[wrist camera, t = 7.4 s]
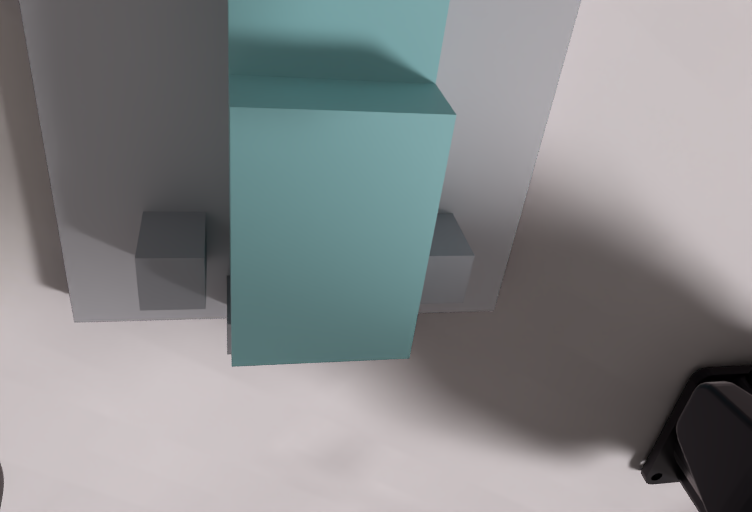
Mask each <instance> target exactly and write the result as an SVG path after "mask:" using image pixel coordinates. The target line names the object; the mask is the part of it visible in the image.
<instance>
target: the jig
mask: <svg viewBox="0 0 752 512" xmlns="http://www.w3.org/2000/svg"><path fill="white" fill-rule="evenodd" d="M580 3H581V0H450V2H449V8H448V14H447V20H446V26H445V32H444V38H443V43H442V49H441V55H440V61H439V67H438V73H437V79H436V85H437V87H438V88H439V90H440V91H441V93H442V94H443V96H444V97H445V98H446V100H447V101H448V103H449V104H450V106H451V107H452V109H453V110H454V112H455V113H456V120H455V126H454V131H453V136H452V141H451V146H450V151H449V156H448V162H447V167H446V172H445V177H444V182H443V187H442V193H441V198H440V203H439V208H438V213H437V218H436V223H435V229H434V234H433V239H432V244H431V249H430V254H429V260H428V265H427V270H426V275H425V280H424V285H423V290H422V296H421V301H420V306H419V311H418V313H443V312H479V311H494V309H495V305H496V302H497V298H498V295H499V291H500V288H501V284H502V280H503V277H504V273H505V270H506V266H507V263H508V259H509V256H510V252H511V248H512V245H513V241H514V238H515V234H516V231H517V227H518V223H519V220H520V216H521V213H522V209H523V206H524V202H525V199H526V195H527V191H528V188H529V184H530V181H531V177H532V174H533V170H534V167H535V163H536V159H537V156H538V152H539V149H540V145H541V142H542V138H543V135H544V131H545V127H546V124H547V120H548V117H549V113H550V110H551V106H552V102H553V99H554V95H555V92H556V88H557V85H558V81H559V78H560V74H561V70H562V67H563V63H564V60H565V56H566V53H567V49H568V46H569V42H570V38H571V35H572V31H573V28H574V24H575V21H576V17H577V14H578V10H579V6H580ZM19 4H20V10H21V16H22V22H23V27H24V33H25V39H26V45H27V51H28V56H29V62H30V68H31V74H32V80H33V85H34V91H35V97H36V103H37V109H38V115H39V120H40V126H41V132H42V138H43V144H44V149H45V155H46V161H47V167H48V173H49V178H50V184H51V190H52V196H53V202H54V207H55V213H56V219H57V225H58V231H59V236H60V242H61V248H62V254H63V260H64V265H65V271H66V277H67V283H68V289H69V294H70V300H71V306H72V312H73V318H74V322H110V321H147V320H184V319H221V318H227V354H232V351H231V295H230V219H229V103H228V0H19Z"/></svg>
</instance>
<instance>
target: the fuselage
mask: <svg viewBox="0 0 752 512" xmlns="http://www.w3.org/2000/svg"><path fill="white" fill-rule="evenodd" d="M449 2H450V0H228V103H229V219H230V295H231V351H232V367H233V366H255V365H277V364H299V363H321V362H343V361H365V360H387V359H409V357H410V352H411V347H412V342H413V337H414V332H415V327H416V321H417V316H418V311H419V306H420V301H421V296H422V290H423V285H424V280H425V275H426V270H427V265H428V260H429V254H430V249H431V244H432V239H433V234H434V229H435V223H436V218H437V213H438V208H439V203H440V198H441V193H442V187H443V182H444V177H445V172H446V167H447V162H448V156H449V151H450V146H451V141H452V136H453V131H454V126H455V120H456V113H455V112H454V110H453V109H452V107H451V106H450V104H449V103H448V101H447V100H446V98H445V97H444V96H443V94H442V93H441V91H440V90H439V88H438V87H437V85H436V79H437V73H438V67H439V61H440V55H441V49H442V43H443V38H444V32H445V26H446V20H447V14H448V8H449Z"/></svg>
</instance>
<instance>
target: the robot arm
mask: <svg viewBox="0 0 752 512" xmlns="http://www.w3.org/2000/svg"><path fill="white" fill-rule="evenodd" d="M641 474H642V476H643V478H644V480H645V481H646V483H648V484H661V483H672V482H680V483H681V485H682V486H683V488H684V489H685V491H686V492H687V494H688V495H689V497H690V499H691V500H692V502H693V503H694V505H695V506H696V508H697V509H698V511H699V512H752V365H747V366H727V367H707V368H702V369H700V370H698V371H696V372H695V373H694V374H693V375H692V376H691V378H690V380H689V381H688V383H687V385H686V387H685V389H684V391H683V393H682V395H681V397H680V398H679V400H678V402H677V404H676V406H675V408H674V410H673V412H672V413H671V415H670V417H669V419H668V421H667V423H666V425H665V427H664V429H663V430H662V432H661V434H660V436H659V438H658V440H657V442H656V444H655V446H654V447H653V449H652V451H651V453H650V455H649V457H648V459H647V461H646V463H645V464H644V466H643V468H642V470H641ZM3 487H4V477H3V470H2V467H1V463H0V507H1V502H2V496H3Z"/></svg>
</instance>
